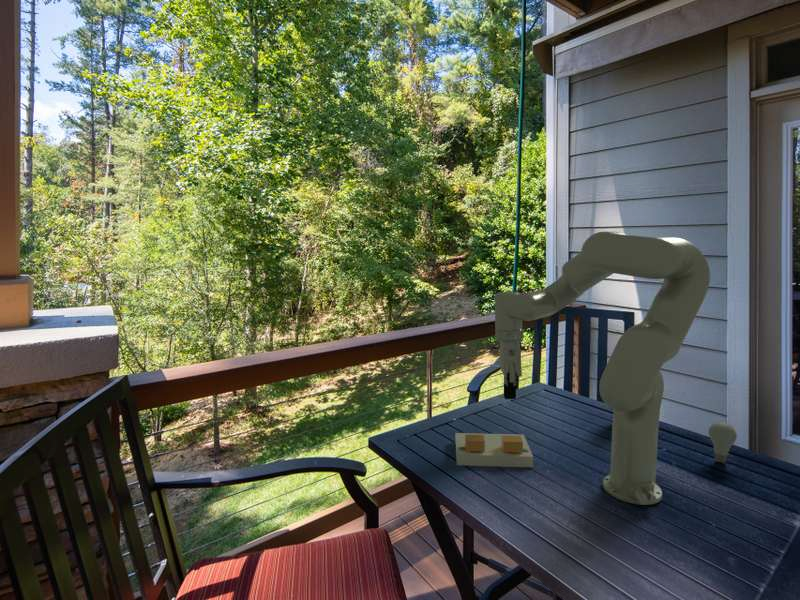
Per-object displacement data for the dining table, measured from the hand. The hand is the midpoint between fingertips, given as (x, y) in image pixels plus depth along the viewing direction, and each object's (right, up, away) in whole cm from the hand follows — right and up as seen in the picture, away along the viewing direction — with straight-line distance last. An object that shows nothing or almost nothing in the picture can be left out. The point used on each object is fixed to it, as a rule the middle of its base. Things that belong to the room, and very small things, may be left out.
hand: (509, 397), depth 131 cm
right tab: (-1, -12, -7) cm, 15 cm away
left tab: (-11, -12, -6) cm, 18 cm away
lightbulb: (+54, -15, -10) cm, 57 cm away
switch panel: (-6, -15, -3) cm, 17 cm away
